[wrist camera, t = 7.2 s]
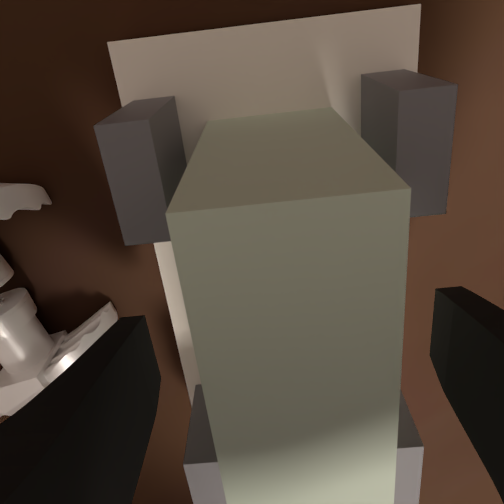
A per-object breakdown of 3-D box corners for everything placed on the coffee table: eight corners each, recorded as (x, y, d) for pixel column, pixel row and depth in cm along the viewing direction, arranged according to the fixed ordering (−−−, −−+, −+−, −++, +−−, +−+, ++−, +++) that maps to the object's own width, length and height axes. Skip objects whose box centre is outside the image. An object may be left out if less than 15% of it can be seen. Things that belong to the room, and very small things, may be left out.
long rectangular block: (339, 409, 15) (387, 618, 10) (252, 417, 15) (252, 626, 10) (331, 106, 11) (411, 188, 5) (207, 120, 11) (165, 213, 6)
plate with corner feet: (389, 424, 17) (426, 531, 13) (206, 438, 17) (194, 546, 14) (407, 5, 11) (485, -5, 7) (118, 40, 11) (54, 48, 7)
